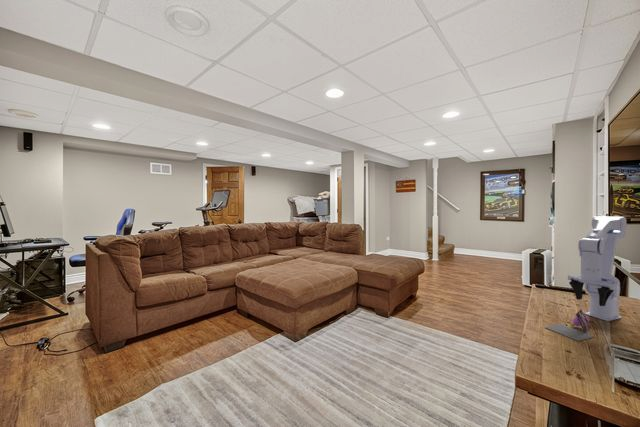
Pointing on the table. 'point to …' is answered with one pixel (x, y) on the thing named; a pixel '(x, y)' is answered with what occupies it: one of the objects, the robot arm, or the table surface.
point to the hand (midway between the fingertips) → (590, 302)
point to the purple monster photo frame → (581, 321)
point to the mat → (570, 332)
